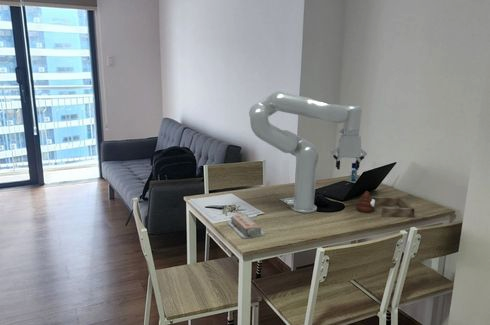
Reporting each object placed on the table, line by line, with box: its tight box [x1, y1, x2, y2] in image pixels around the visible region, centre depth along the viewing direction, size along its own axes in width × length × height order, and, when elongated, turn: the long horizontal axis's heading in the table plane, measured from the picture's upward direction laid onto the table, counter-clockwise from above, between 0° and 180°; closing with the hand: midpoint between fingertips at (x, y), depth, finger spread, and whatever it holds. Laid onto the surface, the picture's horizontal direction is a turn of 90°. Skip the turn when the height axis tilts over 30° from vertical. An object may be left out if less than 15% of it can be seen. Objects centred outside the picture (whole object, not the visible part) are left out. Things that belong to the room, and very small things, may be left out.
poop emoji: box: [355, 190, 376, 214], centre depth 195 cm, size 10×8×9 cm
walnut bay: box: [371, 196, 415, 219], centre depth 196 cm, size 14×17×4 cm
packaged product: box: [226, 212, 266, 240], centre depth 169 cm, size 18×5×10 cm
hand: (347, 169), depth 192 cm, fingers open, 8 cm apart
